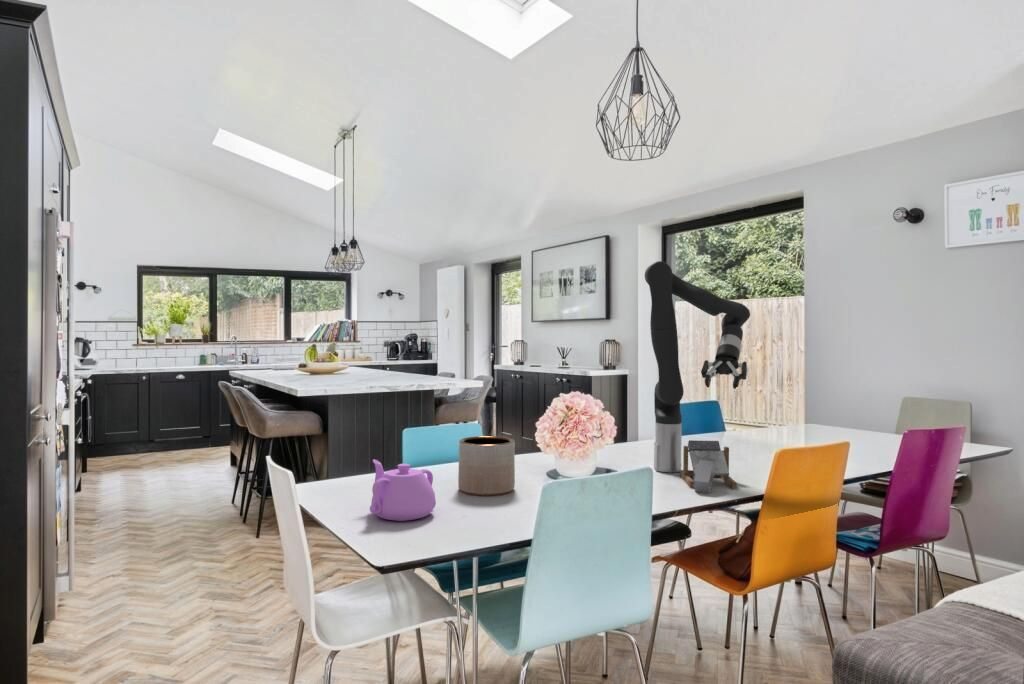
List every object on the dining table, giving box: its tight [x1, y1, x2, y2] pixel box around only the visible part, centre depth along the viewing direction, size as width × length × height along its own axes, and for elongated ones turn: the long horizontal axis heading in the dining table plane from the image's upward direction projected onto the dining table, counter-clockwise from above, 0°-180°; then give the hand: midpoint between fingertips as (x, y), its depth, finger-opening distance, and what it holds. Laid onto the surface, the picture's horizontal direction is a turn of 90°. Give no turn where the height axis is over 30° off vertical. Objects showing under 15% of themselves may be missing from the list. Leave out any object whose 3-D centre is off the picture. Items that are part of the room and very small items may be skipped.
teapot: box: [369, 459, 437, 522], centre depth 180 cm, size 22×22×14 cm
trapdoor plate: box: [687, 440, 730, 477], centre depth 221 cm, size 15×11×3 cm
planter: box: [457, 435, 516, 497], centre depth 208 cm, size 18×18×16 cm
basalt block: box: [693, 460, 715, 494], centre depth 209 cm, size 4×4×10 cm
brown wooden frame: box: [679, 445, 738, 490], centre depth 221 cm, size 18×15×12 cm
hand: (720, 386), depth 217 cm, fingers open, 8 cm apart
